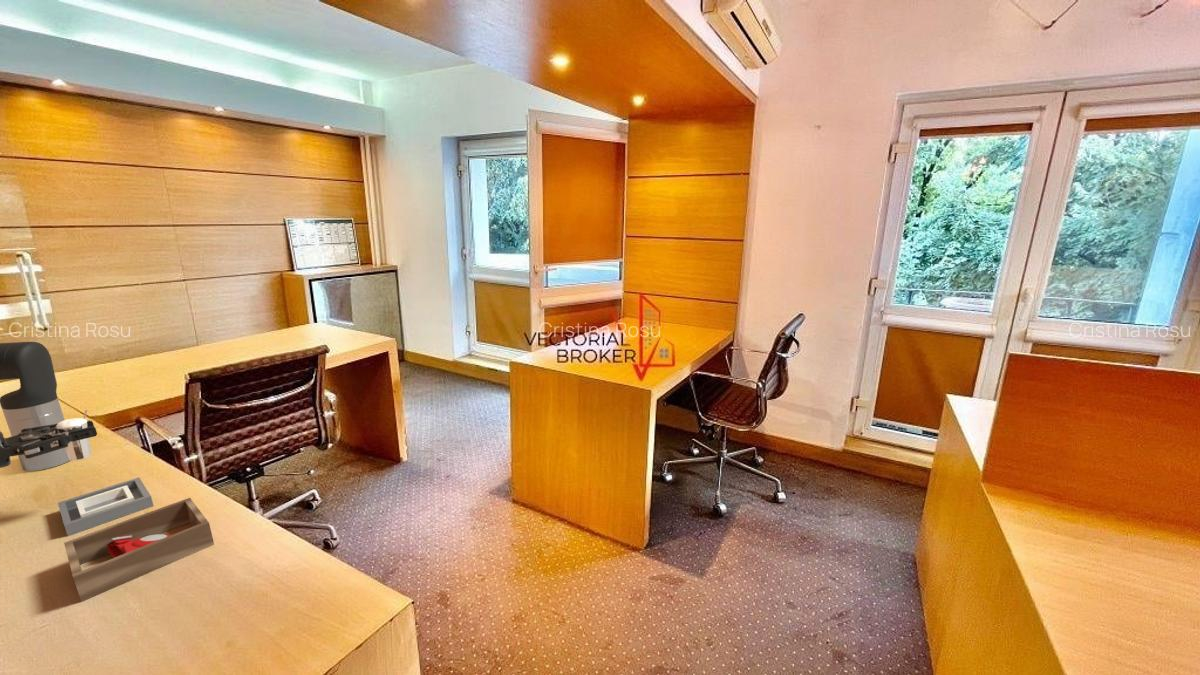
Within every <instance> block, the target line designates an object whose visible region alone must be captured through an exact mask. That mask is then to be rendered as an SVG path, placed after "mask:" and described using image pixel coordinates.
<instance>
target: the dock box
mask: <svg viewBox="0 0 1200 675" xmlns="http://www.w3.org/2000/svg"><path fill="white" fill-rule="evenodd" d="M57 505H58V509H59V513H60V515H61V519H62V523H63V527H64V528H65V533H66V536H67V537H69V536H72V535H74V534H77V533H81V532H83V531H86V530H89V529H91V528H95V527H98V526H100V525H103V524H106V523H108V522H112V521H115V520H117V519H120V518H123V517H125V516H128V515H131V514H134V513H137V512H140V511H143V510H147V509H148V508H152V507H154V502H153V499H152V495H151V494H150V492H149V491H148V489H147V487H146V486H145V484H144V482H143V480H141V478H140V477H136V478H133V479H129V480H125V481H123V482H120V483H119V482H118V483H117V484H114V485H111V486H107V487H104V488H101V489H98V490H97V489H96V490H93V491H91V492H88V493H85V494H81V495H78V496H73V497H71V498H68V499H65V500H62V501H61V500H60V501H58V502H57Z"/></svg>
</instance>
